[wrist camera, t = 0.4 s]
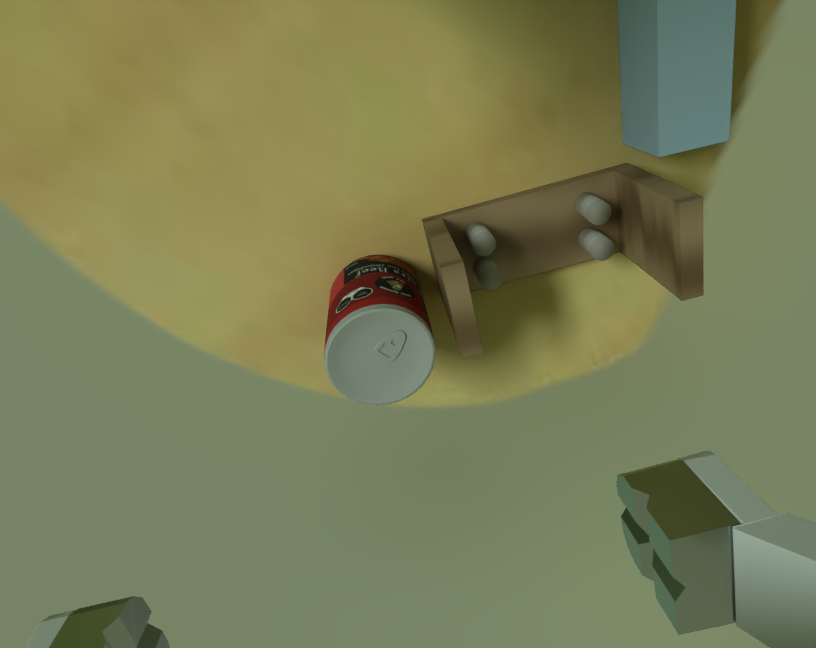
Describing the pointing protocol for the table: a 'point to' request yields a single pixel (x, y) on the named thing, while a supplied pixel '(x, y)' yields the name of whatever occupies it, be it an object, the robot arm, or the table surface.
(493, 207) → the peg stand
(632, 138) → the pale blue block
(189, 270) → the table surface
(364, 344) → the canned food
